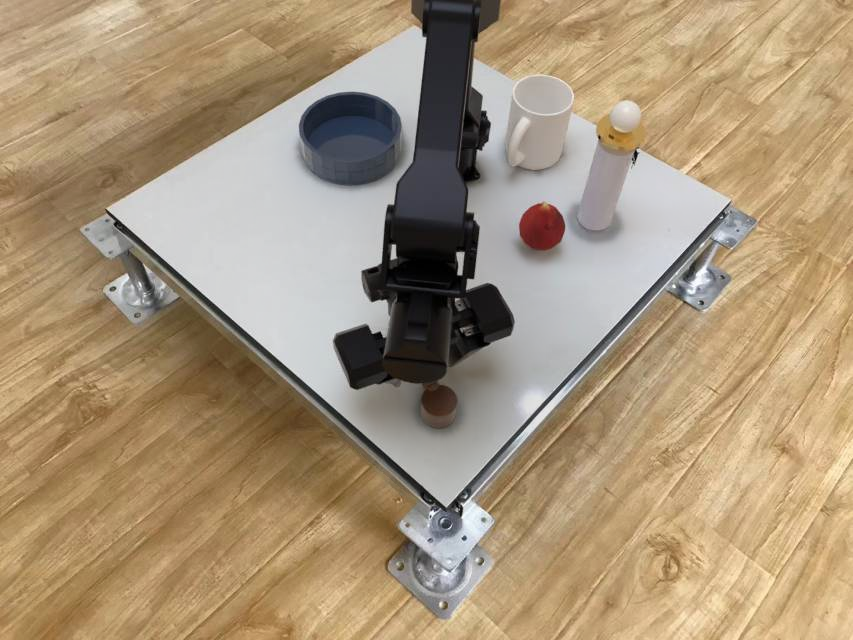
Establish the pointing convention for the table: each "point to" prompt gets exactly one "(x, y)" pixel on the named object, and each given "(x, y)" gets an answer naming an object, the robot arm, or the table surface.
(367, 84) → the table surface
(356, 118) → the bowl
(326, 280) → the table surface
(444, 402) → the ladle
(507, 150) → the mug
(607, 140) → the perfume bottle
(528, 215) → the onion
